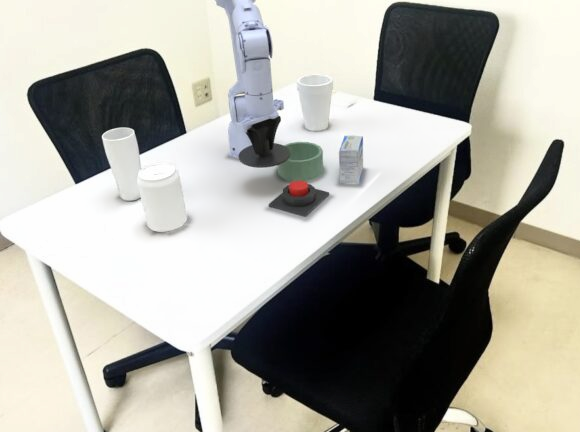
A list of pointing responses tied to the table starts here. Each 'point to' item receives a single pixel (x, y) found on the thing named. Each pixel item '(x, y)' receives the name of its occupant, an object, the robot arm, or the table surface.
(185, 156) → the table surface
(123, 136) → the drinking glass
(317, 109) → the foam cup
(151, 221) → the beverage can
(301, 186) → the button
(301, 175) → the green pot
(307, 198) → the button base
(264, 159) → the lid
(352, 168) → the medicine box
